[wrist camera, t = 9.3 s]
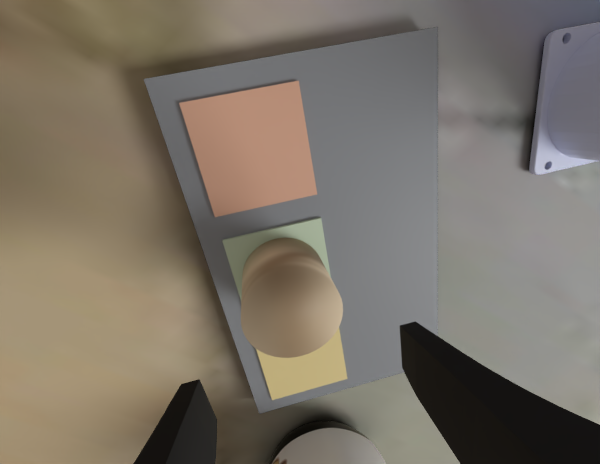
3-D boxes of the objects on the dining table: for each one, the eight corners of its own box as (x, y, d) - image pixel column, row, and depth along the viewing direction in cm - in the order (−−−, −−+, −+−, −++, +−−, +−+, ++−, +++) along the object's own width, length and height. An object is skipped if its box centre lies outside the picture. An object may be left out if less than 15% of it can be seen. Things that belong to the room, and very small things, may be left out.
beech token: (322, 233, 17) (343, 265, 13) (323, 304, 18) (342, 349, 15) (237, 242, 16) (234, 277, 12) (246, 314, 18) (246, 364, 14)
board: (423, 33, 15) (440, 25, 14) (428, 351, 23) (439, 364, 22) (151, 82, 14) (142, 78, 13) (258, 399, 22) (259, 416, 21)
